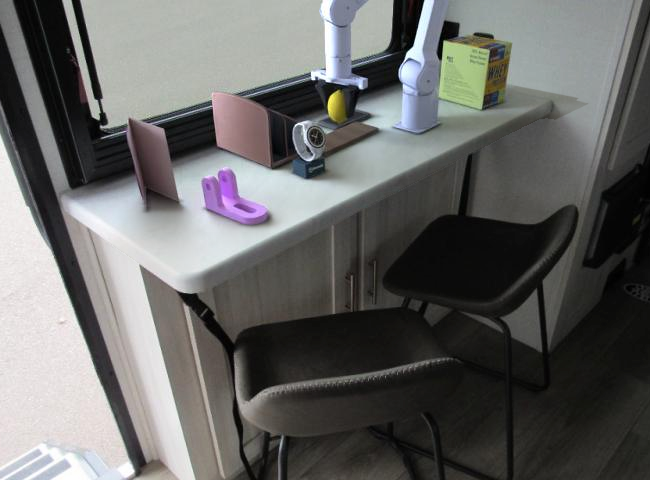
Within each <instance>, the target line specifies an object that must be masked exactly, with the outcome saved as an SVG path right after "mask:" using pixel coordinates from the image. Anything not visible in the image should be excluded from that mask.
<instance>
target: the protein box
mask: <svg viewBox="0 0 650 480" xmlns="http://www.w3.org/2000/svg"><path fill="white" fill-rule="evenodd" d="M442 45H443V46H442V57H441V66H440V68H441V69H440V76H439V89H438V96H439V99H441V100H446V101H448V102H452V103H456V104H459V105H463V106H466V107H470V108H473V109H477V110H481V111H482V110H484V109H488V108H491V107H492V106H495V105H498V104H501V103H503V102H504V101H505V94H506V88H507V81H508V75H509V67H510V61H511V54H512V48H513V42H511V41H506V40H499V39H495V38H489V37H482V36H477V35H471V34H465V35H461V36H457V37H453V38H449V39H445V40H443V44H442Z"/></svg>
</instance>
